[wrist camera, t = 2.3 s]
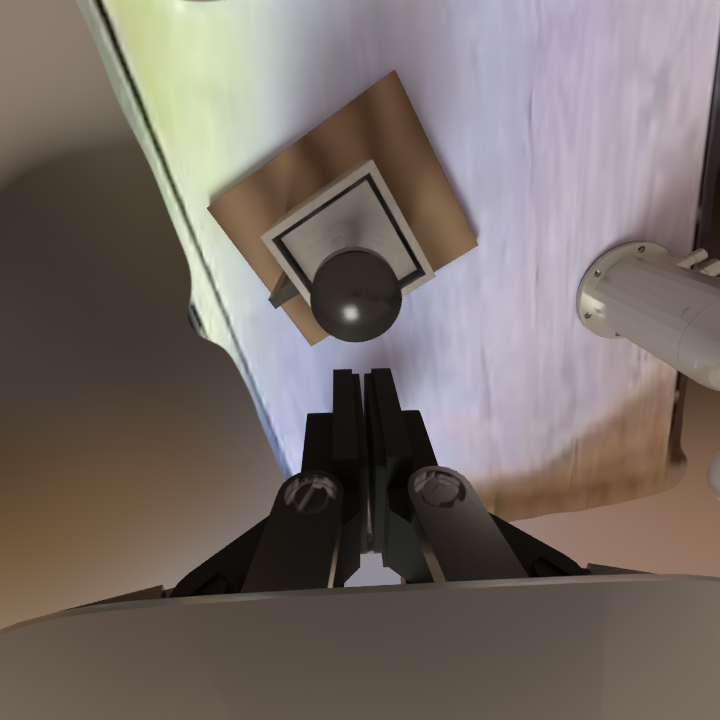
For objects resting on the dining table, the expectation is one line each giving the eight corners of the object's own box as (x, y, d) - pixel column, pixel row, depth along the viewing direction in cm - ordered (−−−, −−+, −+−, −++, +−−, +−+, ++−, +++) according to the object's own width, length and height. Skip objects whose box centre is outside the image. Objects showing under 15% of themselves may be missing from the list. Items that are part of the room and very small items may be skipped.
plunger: (366, 179, 31) (382, 190, 19) (415, 266, 34) (453, 320, 23) (282, 236, 32) (251, 278, 21) (336, 315, 36) (335, 388, 24)
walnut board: (393, 72, 40) (394, 69, 39) (475, 243, 48) (478, 245, 47) (209, 206, 45) (206, 207, 44) (311, 342, 53) (311, 346, 52)
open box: (361, 159, 43) (372, 159, 28) (406, 241, 47) (436, 276, 32) (263, 227, 45) (229, 258, 31) (314, 299, 49) (304, 355, 35)
